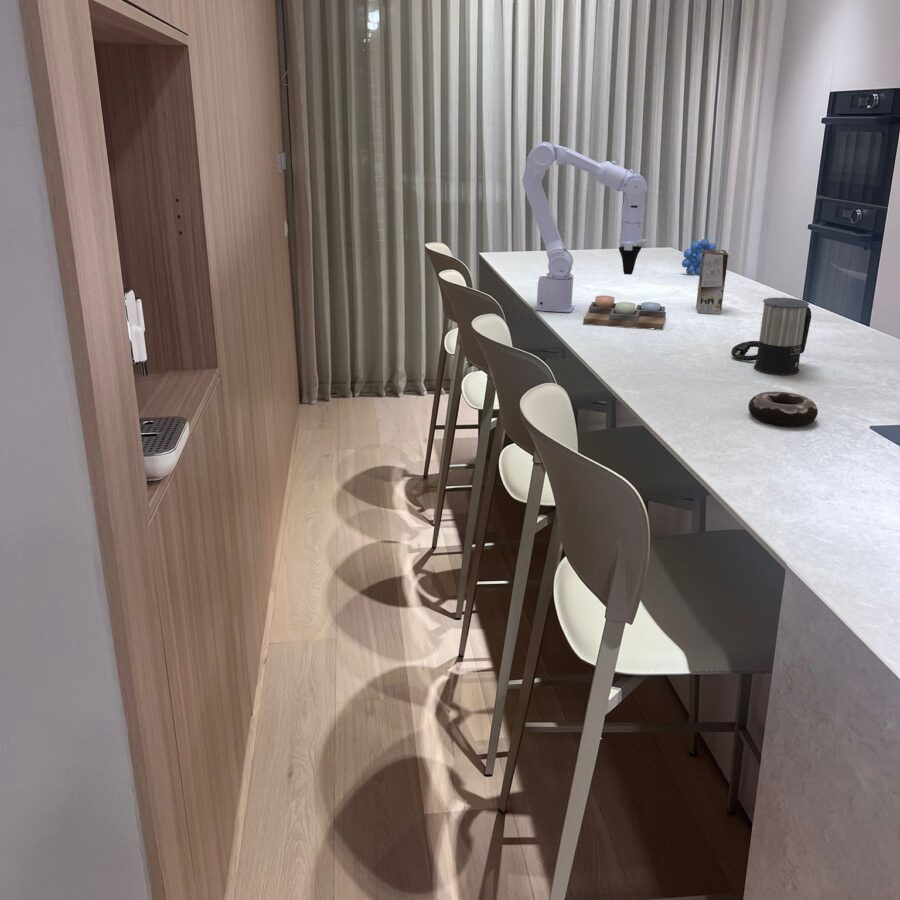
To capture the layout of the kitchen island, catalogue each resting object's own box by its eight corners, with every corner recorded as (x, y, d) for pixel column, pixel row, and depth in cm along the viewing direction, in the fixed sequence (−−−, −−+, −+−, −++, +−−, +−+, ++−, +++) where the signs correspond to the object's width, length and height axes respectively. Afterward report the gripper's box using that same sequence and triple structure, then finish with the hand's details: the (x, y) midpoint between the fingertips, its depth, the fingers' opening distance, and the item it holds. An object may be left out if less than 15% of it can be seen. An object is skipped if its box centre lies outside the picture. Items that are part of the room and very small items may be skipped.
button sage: (614, 314, 228) (614, 305, 227) (615, 310, 232) (616, 301, 231) (633, 316, 226) (634, 306, 226) (635, 312, 231) (636, 302, 230)
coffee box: (721, 314, 242) (729, 254, 236) (697, 313, 243) (704, 253, 237) (719, 307, 250) (726, 249, 245) (695, 306, 252) (701, 248, 246)
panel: (583, 324, 229) (584, 312, 228) (590, 312, 243) (591, 301, 242) (662, 329, 224) (663, 318, 223) (665, 317, 238) (666, 306, 237)
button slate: (639, 314, 233) (640, 305, 232) (640, 310, 237) (641, 301, 236) (659, 315, 232) (660, 306, 231) (660, 311, 236) (661, 302, 235)
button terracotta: (593, 307, 235) (594, 298, 235) (595, 303, 240) (596, 295, 239) (612, 308, 234) (613, 299, 233) (614, 305, 239) (615, 296, 238)
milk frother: (793, 378, 185) (804, 307, 180) (717, 366, 193) (726, 298, 187) (808, 363, 196) (818, 296, 191) (736, 353, 204) (744, 288, 199)
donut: (799, 409, 166) (802, 388, 165) (826, 430, 156) (830, 408, 154) (738, 409, 166) (740, 388, 165) (761, 430, 155) (764, 408, 154)
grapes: (709, 272, 305) (714, 236, 300) (717, 276, 298) (721, 239, 294) (676, 272, 304) (680, 236, 299) (683, 276, 297) (686, 239, 293)
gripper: (645, 226, 227) (641, 279, 232) (649, 219, 240) (645, 270, 245) (618, 224, 229) (613, 277, 234) (623, 218, 242) (619, 269, 247)
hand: (628, 274), depth 239 cm, fingers closed
